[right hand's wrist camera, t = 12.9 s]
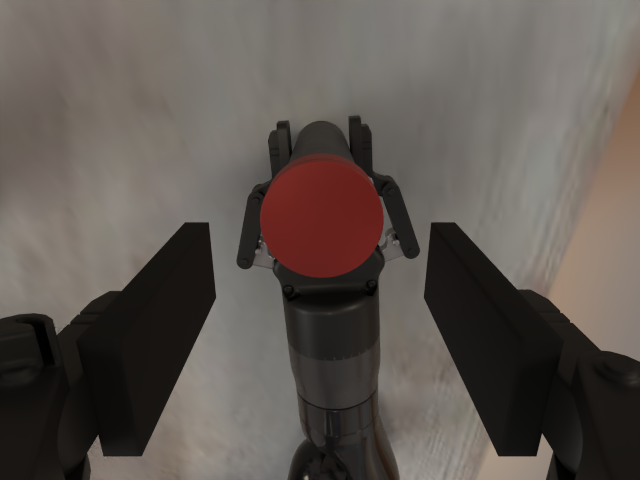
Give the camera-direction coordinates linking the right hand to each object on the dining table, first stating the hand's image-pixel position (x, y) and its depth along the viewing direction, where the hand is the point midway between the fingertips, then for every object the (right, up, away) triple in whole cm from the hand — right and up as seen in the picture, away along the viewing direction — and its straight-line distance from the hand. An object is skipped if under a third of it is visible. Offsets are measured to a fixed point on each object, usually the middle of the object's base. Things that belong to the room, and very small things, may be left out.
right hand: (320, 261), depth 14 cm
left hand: (0, +9, +15) cm, 17 cm away
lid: (0, +2, +4) cm, 4 cm away
